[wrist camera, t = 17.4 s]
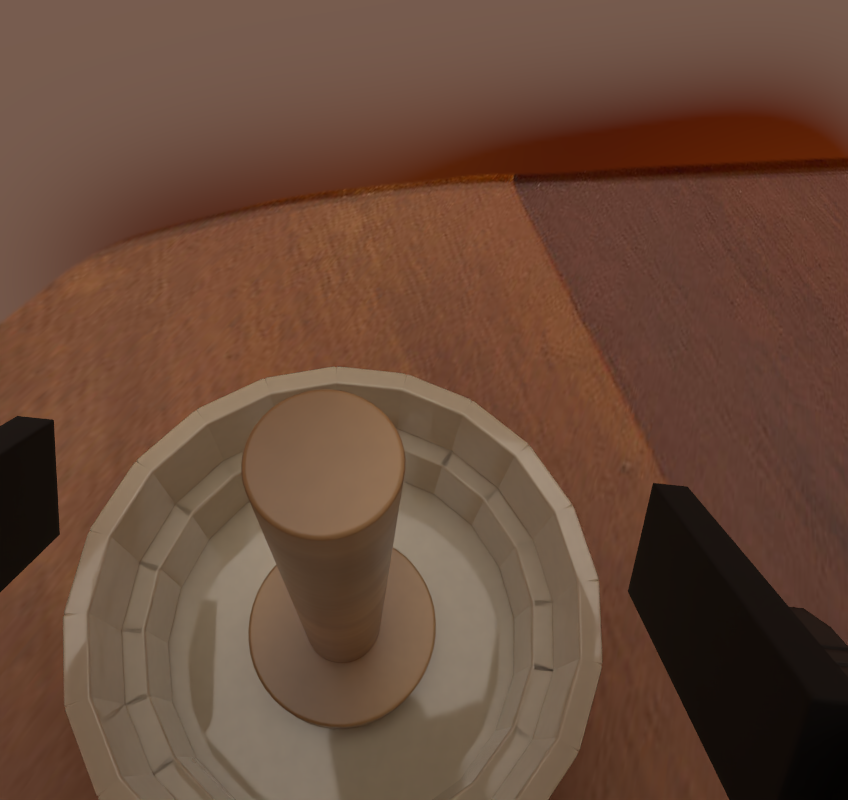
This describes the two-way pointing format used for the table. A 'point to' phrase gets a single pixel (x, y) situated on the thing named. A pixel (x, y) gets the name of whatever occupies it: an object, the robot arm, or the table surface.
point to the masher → (334, 562)
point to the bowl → (252, 561)
